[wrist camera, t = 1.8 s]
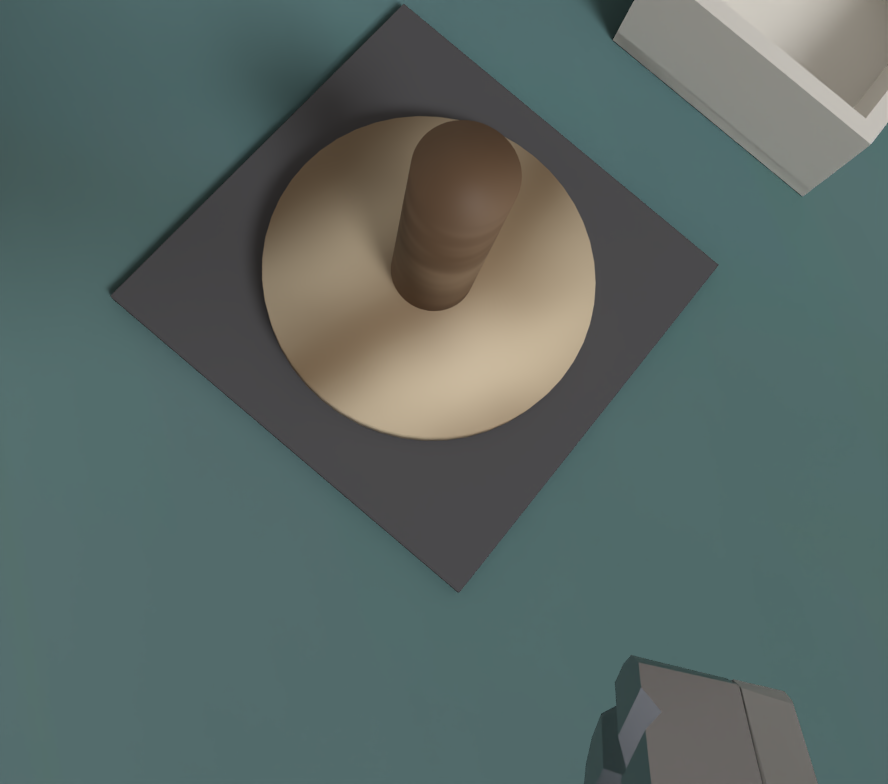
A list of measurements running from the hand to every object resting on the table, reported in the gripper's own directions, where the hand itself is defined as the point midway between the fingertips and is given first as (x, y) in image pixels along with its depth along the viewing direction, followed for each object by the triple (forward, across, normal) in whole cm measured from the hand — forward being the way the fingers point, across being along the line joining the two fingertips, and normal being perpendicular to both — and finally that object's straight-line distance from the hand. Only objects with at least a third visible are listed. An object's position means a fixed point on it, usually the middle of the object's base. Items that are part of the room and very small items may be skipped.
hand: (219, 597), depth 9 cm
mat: (+24, 0, +6) cm, 24 cm away
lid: (+23, 0, +5) cm, 24 cm away
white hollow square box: (+34, -11, -5) cm, 36 cm away
